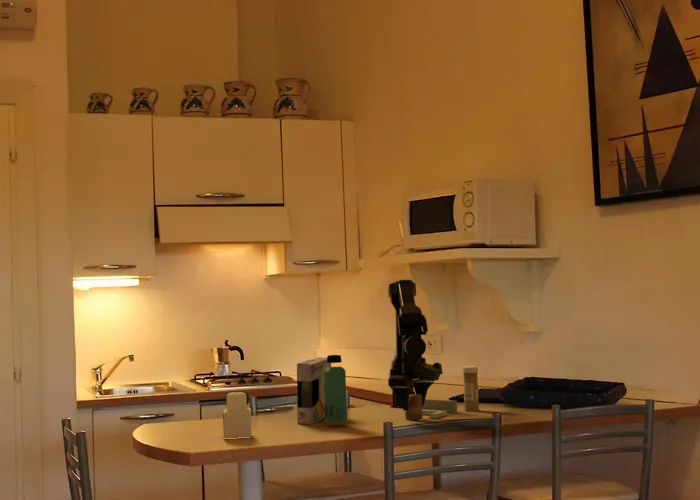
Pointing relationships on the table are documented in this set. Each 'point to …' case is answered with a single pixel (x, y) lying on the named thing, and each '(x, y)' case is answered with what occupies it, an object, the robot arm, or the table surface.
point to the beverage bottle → (335, 391)
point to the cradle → (433, 413)
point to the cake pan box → (311, 390)
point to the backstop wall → (440, 405)
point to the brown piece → (414, 407)
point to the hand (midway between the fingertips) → (413, 408)
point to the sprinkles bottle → (471, 388)
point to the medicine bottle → (237, 415)
